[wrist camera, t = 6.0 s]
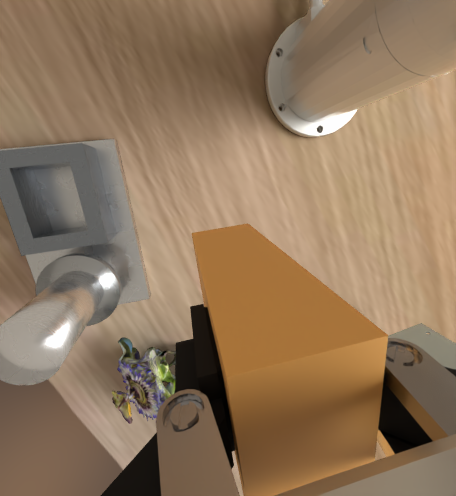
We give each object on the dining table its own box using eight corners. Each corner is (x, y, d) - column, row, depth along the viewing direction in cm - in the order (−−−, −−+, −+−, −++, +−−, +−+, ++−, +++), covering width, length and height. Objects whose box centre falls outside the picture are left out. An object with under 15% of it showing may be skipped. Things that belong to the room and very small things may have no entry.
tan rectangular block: (191, 233, 15) (226, 377, 5) (248, 223, 16) (388, 335, 5) (204, 305, 17) (250, 526, 6) (254, 294, 17) (371, 483, 7)
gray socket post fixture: (-2, 152, 27) (-226, 117, 12) (117, 140, 28) (50, 98, 14) (53, 311, 32) (-54, 424, 17) (150, 293, 34) (129, 382, 19)
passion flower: (141, 337, 41) (89, 346, 30) (204, 317, 40) (175, 319, 28) (155, 414, 38) (102, 457, 26) (223, 395, 37) (200, 432, 25)
